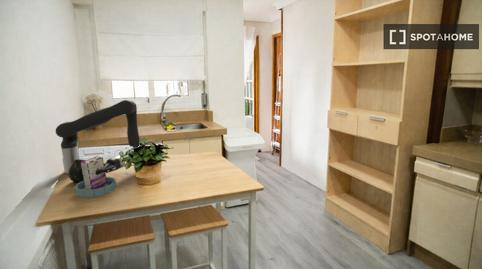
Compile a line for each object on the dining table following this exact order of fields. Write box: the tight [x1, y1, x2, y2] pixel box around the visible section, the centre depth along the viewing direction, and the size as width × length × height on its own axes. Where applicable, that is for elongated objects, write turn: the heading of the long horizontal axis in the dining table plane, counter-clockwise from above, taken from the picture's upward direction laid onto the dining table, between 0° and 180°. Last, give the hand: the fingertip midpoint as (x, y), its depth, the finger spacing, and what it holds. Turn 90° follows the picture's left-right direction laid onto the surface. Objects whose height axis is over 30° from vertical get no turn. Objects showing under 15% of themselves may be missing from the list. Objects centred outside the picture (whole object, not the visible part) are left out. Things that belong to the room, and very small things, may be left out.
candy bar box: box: [81, 155, 107, 190], centre depth 163 cm, size 11×5×16 cm, turn 161°
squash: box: [68, 158, 86, 184], centre depth 177 cm, size 14×15×15 cm
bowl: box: [74, 176, 117, 199], centre depth 164 cm, size 20×20×4 cm
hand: (92, 172), depth 161 cm, fingers closed on candy bar box, 5 cm apart
